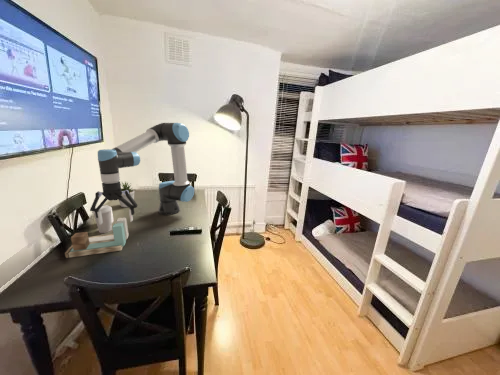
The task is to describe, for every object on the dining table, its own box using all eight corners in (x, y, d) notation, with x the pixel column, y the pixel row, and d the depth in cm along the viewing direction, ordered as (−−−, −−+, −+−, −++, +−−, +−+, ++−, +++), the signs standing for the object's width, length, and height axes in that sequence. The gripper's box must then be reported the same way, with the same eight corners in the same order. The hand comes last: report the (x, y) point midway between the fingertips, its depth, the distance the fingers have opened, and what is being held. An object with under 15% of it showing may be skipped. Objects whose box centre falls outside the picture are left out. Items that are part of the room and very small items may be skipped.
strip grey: (128, 235, 121) (126, 217, 118) (127, 239, 117) (124, 220, 114) (80, 240, 114) (76, 221, 111) (77, 245, 110) (72, 225, 107)
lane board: (127, 235, 123) (127, 231, 122) (121, 250, 108) (120, 245, 108) (79, 241, 116) (78, 237, 115) (65, 258, 101) (64, 253, 100)
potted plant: (140, 204, 173) (137, 181, 168) (123, 209, 162) (119, 184, 157) (132, 201, 180) (129, 178, 174) (115, 206, 168) (111, 181, 163)
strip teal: (126, 241, 115) (123, 222, 112) (124, 246, 110) (121, 226, 107) (75, 248, 107) (70, 227, 104) (70, 253, 103) (65, 232, 100)
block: (89, 244, 109) (87, 231, 107) (86, 249, 105) (83, 236, 103) (78, 245, 108) (75, 233, 106) (73, 250, 103) (70, 237, 101)
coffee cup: (94, 235, 122) (90, 211, 118) (97, 228, 131) (93, 206, 127) (114, 232, 127) (110, 209, 123) (115, 226, 135) (111, 203, 131)
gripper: (140, 178, 110) (144, 216, 115) (83, 181, 102) (90, 221, 107) (138, 182, 103) (142, 222, 109) (76, 184, 95) (84, 227, 101)
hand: (116, 222), depth 108 cm, fingers open, 13 cm apart
